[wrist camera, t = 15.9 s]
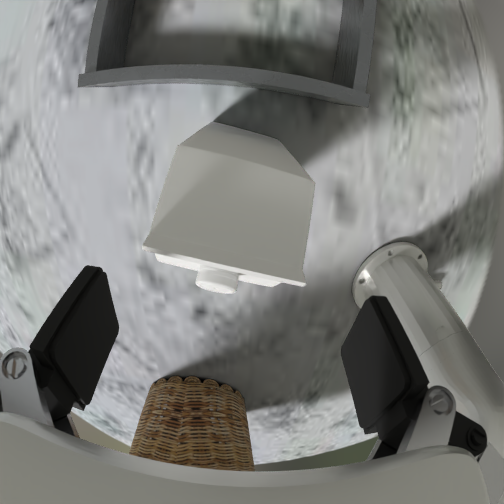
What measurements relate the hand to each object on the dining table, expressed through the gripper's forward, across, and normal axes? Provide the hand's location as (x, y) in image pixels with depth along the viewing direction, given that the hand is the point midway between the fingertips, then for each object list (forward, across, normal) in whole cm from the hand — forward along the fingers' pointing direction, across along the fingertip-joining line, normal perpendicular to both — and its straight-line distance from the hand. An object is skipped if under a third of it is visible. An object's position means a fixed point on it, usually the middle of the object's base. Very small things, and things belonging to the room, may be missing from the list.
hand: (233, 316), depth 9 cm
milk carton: (+22, +1, -1) cm, 22 cm away
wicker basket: (+22, +5, +49) cm, 54 cm away
